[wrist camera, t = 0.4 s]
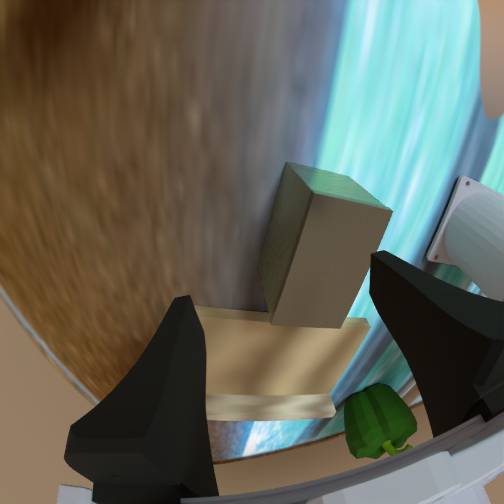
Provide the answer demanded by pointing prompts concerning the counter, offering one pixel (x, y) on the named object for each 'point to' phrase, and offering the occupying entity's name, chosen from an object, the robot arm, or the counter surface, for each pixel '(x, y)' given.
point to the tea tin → (318, 247)
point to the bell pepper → (377, 422)
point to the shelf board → (273, 365)
